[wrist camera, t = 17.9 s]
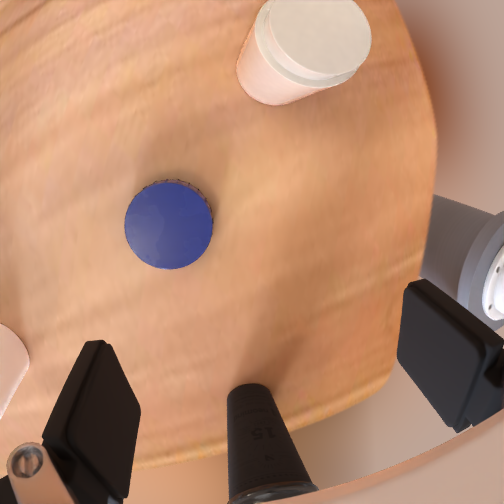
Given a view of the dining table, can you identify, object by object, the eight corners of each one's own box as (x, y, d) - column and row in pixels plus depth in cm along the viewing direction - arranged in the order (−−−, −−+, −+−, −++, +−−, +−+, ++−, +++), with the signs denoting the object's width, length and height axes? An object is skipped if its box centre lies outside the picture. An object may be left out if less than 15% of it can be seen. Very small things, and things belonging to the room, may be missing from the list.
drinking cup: (288, 411, 33) (341, 562, 15) (224, 426, 33) (249, 583, 14) (278, 365, 31) (344, 546, 12) (205, 383, 30) (224, 571, 12)
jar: (321, 55, 22) (391, 15, 12) (295, 117, 23) (357, 104, 13) (253, 25, 20) (287, -41, 10) (223, 88, 22) (239, 49, 12)
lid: (143, 167, 23) (138, 169, 21) (224, 195, 24) (226, 199, 23) (120, 246, 24) (114, 254, 23) (196, 271, 26) (196, 281, 24)
